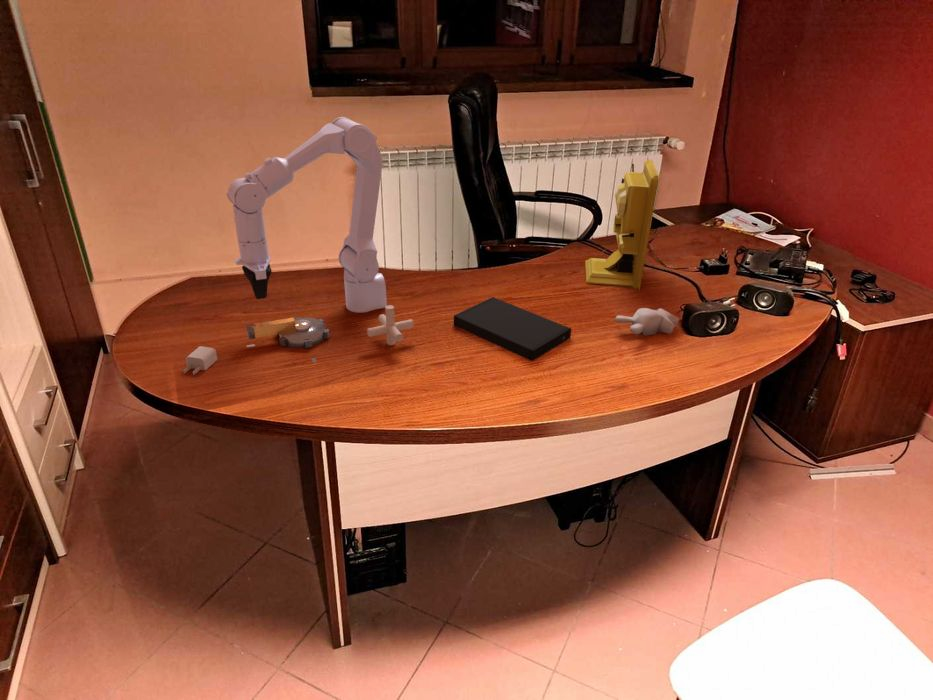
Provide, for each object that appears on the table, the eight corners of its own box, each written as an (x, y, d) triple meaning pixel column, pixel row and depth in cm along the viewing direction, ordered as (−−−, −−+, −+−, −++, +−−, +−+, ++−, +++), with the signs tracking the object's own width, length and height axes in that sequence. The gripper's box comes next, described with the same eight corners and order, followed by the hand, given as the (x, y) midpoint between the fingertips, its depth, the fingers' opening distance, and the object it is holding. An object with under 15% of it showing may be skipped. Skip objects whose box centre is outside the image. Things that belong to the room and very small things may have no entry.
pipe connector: (378, 364, 136) (375, 321, 131) (361, 342, 143) (359, 302, 138) (421, 353, 140) (421, 312, 135) (403, 333, 147) (402, 293, 142)
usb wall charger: (218, 365, 134) (215, 348, 132) (199, 382, 128) (195, 365, 126) (201, 362, 135) (197, 345, 133) (181, 379, 129) (177, 362, 127)
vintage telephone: (584, 250, 195) (596, 148, 179) (631, 253, 193) (648, 151, 178) (586, 294, 168) (601, 179, 153) (641, 298, 166) (661, 182, 151)
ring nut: (321, 320, 149) (319, 303, 147) (333, 343, 140) (332, 325, 138) (245, 333, 143) (242, 315, 141) (253, 358, 134) (250, 339, 132)
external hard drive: (493, 307, 161) (493, 296, 159) (570, 339, 147) (571, 328, 146) (453, 326, 152) (453, 315, 150) (532, 363, 138) (533, 350, 137)
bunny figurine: (689, 317, 149) (640, 323, 142) (683, 337, 151) (634, 344, 144) (661, 301, 156) (613, 306, 149) (655, 320, 158) (608, 326, 151)
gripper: (228, 229, 139) (237, 287, 146) (236, 252, 127) (246, 314, 134) (261, 225, 141) (269, 282, 148) (273, 248, 130) (281, 308, 137)
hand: (261, 297), depth 141 cm, fingers closed
